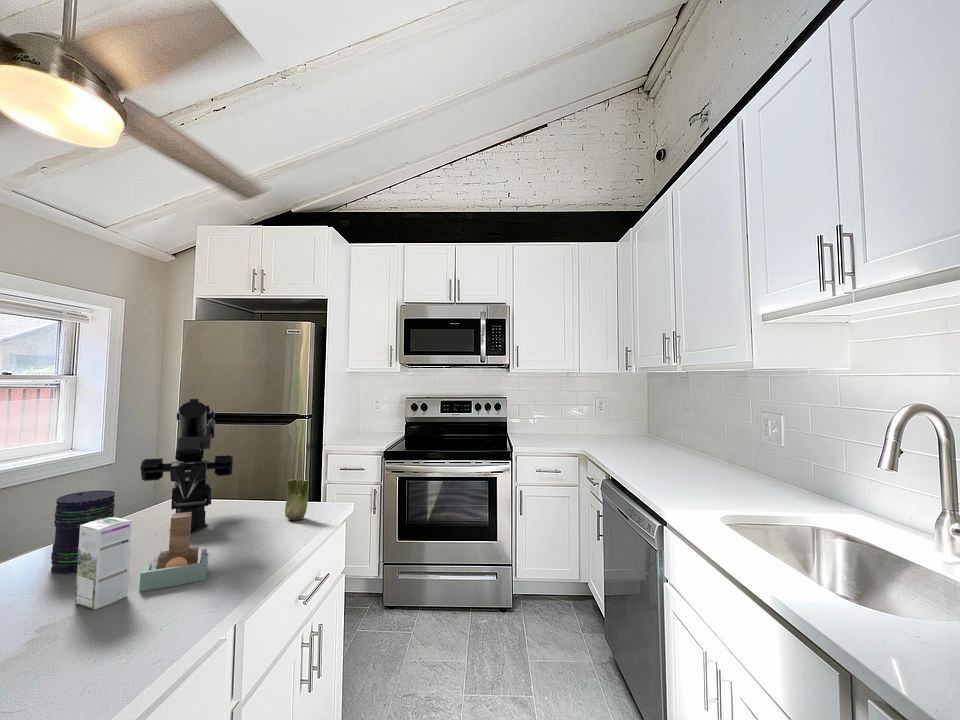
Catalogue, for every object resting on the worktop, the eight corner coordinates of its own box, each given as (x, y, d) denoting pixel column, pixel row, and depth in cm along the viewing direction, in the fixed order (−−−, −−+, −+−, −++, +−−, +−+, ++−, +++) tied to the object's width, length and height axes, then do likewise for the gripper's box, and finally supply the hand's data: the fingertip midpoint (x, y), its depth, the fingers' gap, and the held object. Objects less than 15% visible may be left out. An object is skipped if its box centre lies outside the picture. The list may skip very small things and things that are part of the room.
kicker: (159, 565, 95) (163, 514, 96) (197, 559, 98) (201, 510, 99) (157, 572, 91) (160, 519, 92) (196, 566, 95) (199, 515, 96)
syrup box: (128, 596, 83) (134, 519, 83) (92, 611, 77) (98, 528, 78) (109, 590, 85) (114, 515, 85) (72, 605, 79) (78, 524, 80)
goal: (144, 578, 90) (145, 561, 90) (207, 568, 95) (208, 552, 96) (139, 591, 84) (140, 573, 85) (205, 580, 90) (206, 563, 90)
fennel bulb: (308, 518, 131) (310, 478, 132) (295, 523, 127) (297, 481, 127) (294, 515, 134) (296, 476, 134) (281, 520, 129) (283, 479, 130)
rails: (155, 560, 99) (155, 555, 99) (206, 552, 104) (207, 548, 104) (148, 575, 92) (149, 570, 92) (204, 566, 96) (205, 561, 97)
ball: (161, 562, 91) (158, 579, 88) (175, 550, 91) (173, 567, 88) (179, 567, 94) (177, 584, 91) (193, 555, 94) (191, 572, 91)
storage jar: (120, 561, 98) (125, 494, 99) (64, 578, 89) (69, 504, 90) (96, 552, 102) (101, 488, 103) (40, 568, 93) (46, 497, 94)
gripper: (144, 424, 103) (132, 481, 93) (234, 423, 112) (232, 474, 102) (148, 452, 109) (136, 509, 99) (233, 449, 119) (230, 500, 108)
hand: (185, 497), depth 102 cm, fingers closed
